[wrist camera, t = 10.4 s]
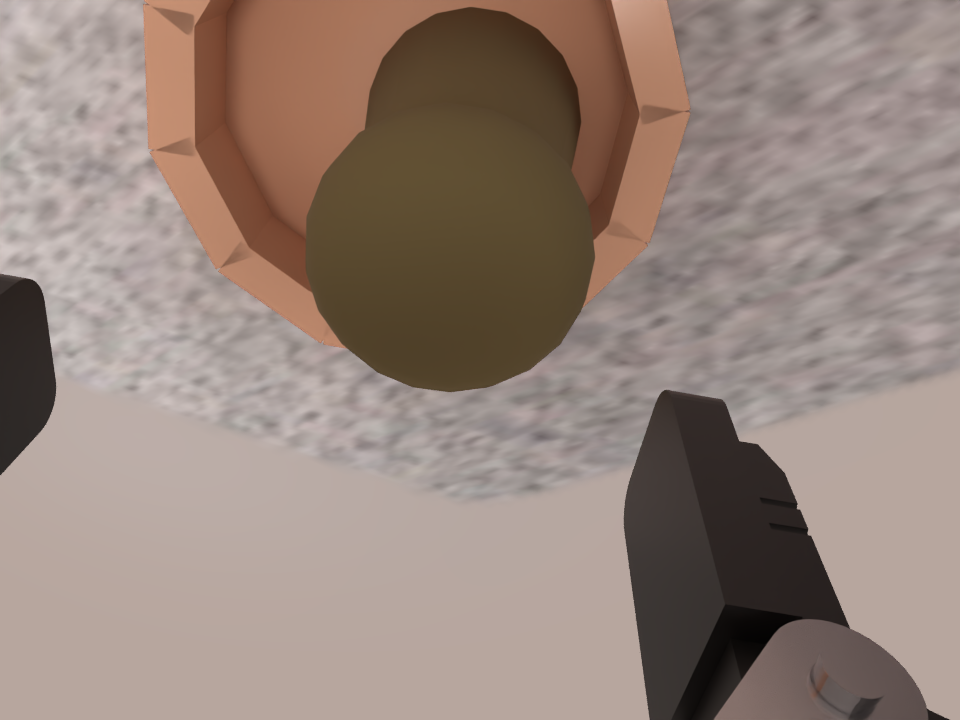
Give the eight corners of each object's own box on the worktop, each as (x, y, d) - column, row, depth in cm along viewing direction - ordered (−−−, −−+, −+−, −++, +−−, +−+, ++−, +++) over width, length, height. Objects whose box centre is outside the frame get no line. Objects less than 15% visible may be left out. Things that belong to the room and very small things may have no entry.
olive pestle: (499, 261, 24) (487, 495, 15) (328, 148, 23) (195, 331, 13) (626, 96, 22) (709, 255, 12) (443, -44, 20) (379, 15, 11)
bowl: (726, -117, 20) (762, -118, 17) (592, 336, 27) (602, 393, 24) (193, -232, 19) (133, -255, 16) (196, 265, 26) (154, 314, 23)
